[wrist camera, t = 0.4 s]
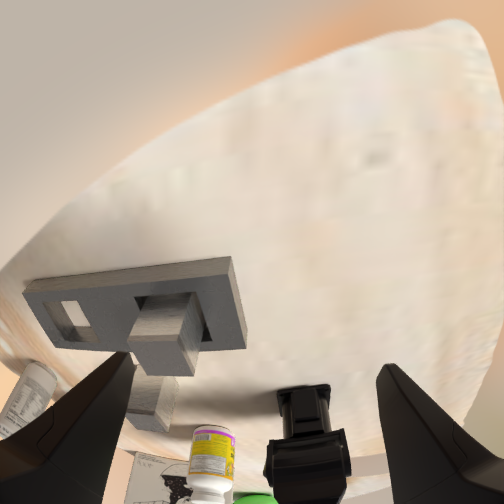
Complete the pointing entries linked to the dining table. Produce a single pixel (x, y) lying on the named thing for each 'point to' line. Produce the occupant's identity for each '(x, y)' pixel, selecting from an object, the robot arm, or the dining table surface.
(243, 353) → the dining table surface
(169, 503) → the cereal box
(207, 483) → the supplement bottle
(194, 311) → the grey metal rectangular block
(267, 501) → the toy bird
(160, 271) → the rail
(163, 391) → the brushed grey metal block
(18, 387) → the energy drink can
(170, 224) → the dining table surface
